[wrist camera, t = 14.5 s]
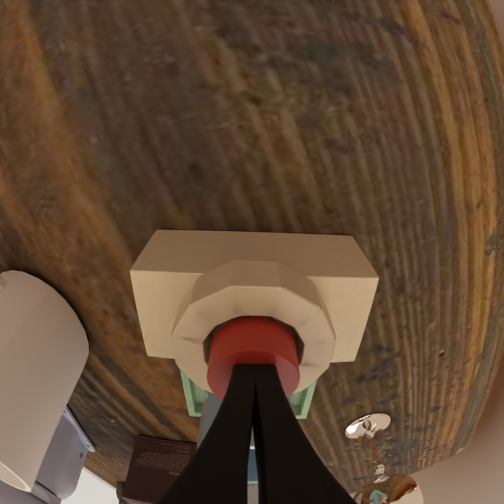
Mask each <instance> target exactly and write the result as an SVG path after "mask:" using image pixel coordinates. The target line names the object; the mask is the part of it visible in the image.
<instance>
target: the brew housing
mask: <svg viewBox="0 0 504 504" xmlns="http://www.w3.org/2000/svg"><path fill="white" fill-rule="evenodd" d="M130 275H131V281H132V286H133V292H134V297H135V302H136V307H137V312H138V317H139V321H140V326H141V330H142V335H143V339H144V343H145V347H146V351H147V355H148V356H152V357H162V358H172V359H175V362H176V364H177V366H178V367H179V368H180V369H181V370H182V371H183V372H184V373H185V374H186V375H187V376H188V377H189V378H190V379H191V380H192V381H193V382H194V383H195V384H196V385H197V386H198V387H200V388H201V389H203V390H206V391H208V392H211V393H213V392H212V390H211V389H210V387H209V385H208V382H207V371H208V364H209V357H210V350H211V344H212V339H213V337H214V335H215V333H216V332H217V331H218V330H219V329H220V328H221V327H222V326H223V325H224V324H226V323H228V322H230V321H232V320H234V319H237V318H241V317H248V316H259V317H266V318H270V319H273V320H275V321H277V322H279V323H281V324H282V325H284V326H285V327H286V328H287V329H288V330H289V331H290V332H291V334H292V335H293V337H294V340H295V345H296V352H297V358H298V365H299V372H300V381H299V385H298V387H297V389H296V390H295V391H294V393H297V392H299V391H302V390H304V389H306V388H307V387H308V386H309V385H310V384H311V383H313V382H314V381H315V380H316V379H317V378H318V377H319V376H320V375H321V374H323V373H324V372H325V371H326V370H327V369H328V367H329V365H330V362H349V361H355V358H356V355H357V352H358V349H359V346H360V342H361V339H362V336H363V333H364V330H365V327H366V323H367V320H368V316H369V313H370V310H371V306H372V303H373V299H374V295H375V292H376V288H377V284H378V280H379V277H378V275H377V274H376V272H375V270H374V269H373V267H372V266H371V264H370V263H369V261H368V260H367V258H366V256H365V255H364V253H363V252H362V250H361V249H360V247H359V246H358V244H357V243H356V241H355V240H354V238H353V237H352V236H344V235H321V234H295V233H268V232H236V231H198V230H156V232H155V233H154V235H153V236H152V237H151V239H150V240H149V242H148V243H147V245H146V246H145V248H144V249H143V251H142V252H141V254H140V255H139V257H138V258H137V260H136V261H135V263H134V265H133V266H132V268H131V269H130ZM294 393H293V394H294Z"/></svg>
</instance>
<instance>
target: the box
mask: <svg viewBox="0 0 504 504" xmlns="http://www.w3.org/2000/svg"><path fill="white" fill-rule="evenodd" d="M196 450H197V445H196V444H191V443H184V442H175V441H168V440H162V439H156V438H150V437H145V436H137V437H136V441H135V445H134V449H133V453H132V457H131V461H130V465H129V470H128V474H127V479H126V483H125V488H124V492H123V495H122V498H123V499H124V500H125V502H126V503H127V504H155V503H156V502H157V500H158V499H159V498H160V497H161V496H162V495H163V494H164V493H165V492H166V491H167V489H168V488H169V487H170V486H171V485H172V484H173V482H174V481H175V480H176V479H177V477H178V476H179V475H180V473H181V472H182V471H183V469H184V468H185V467H186V465H187V464H188V462H189V461H190V460H191V458H192V457H193V455H194V454H195V452H196Z"/></svg>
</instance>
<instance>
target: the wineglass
mask: <svg viewBox="0 0 504 504" xmlns="http://www.w3.org/2000/svg"><path fill="white" fill-rule="evenodd" d="M390 422H391V418H390V416H389V415H387V414H384V413H375V414H370V415H366V416H363V417H361V418H359V419H357V420H355V421H353V422H352V423H350V424H349V425H348V426H347V427H346V429H345V432H344V433H345V435H346V437H348V438H350V439H364V438H367V439H368V441H369V443H370V447H371V450H372V456H373V464H372V469H373V471H374V473H375V474H376V475H377V478H375V479H373V480H371V481H369V482H368V483H366V484H365V485H364V486H362V487H361V488H360V489H359V490H358V491H357V493H356V494H355V496H354V498H353V499H354V500H355V501H356V502H357V503H358V504H424V502H423V496H422V492H421V490H420V487H419V485H418V484H417V482H416V481H415V480H414V479H413V478H411V477H410V476H407V475H404V474H387V475H384V474H383V472H384V464H383V462H382V461H381V459H380V457H379V455H378V453H377V450H376V446H375V441H374V435H376V434H378V433H380V432H382V431H383V430H384V429H386V428H387V427H388V425H389V424H390Z"/></svg>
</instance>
